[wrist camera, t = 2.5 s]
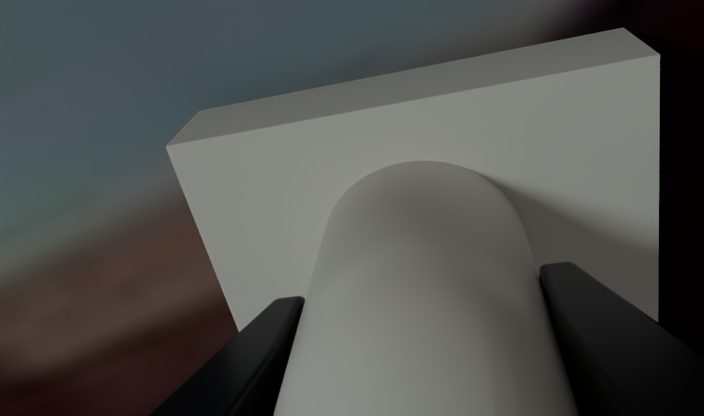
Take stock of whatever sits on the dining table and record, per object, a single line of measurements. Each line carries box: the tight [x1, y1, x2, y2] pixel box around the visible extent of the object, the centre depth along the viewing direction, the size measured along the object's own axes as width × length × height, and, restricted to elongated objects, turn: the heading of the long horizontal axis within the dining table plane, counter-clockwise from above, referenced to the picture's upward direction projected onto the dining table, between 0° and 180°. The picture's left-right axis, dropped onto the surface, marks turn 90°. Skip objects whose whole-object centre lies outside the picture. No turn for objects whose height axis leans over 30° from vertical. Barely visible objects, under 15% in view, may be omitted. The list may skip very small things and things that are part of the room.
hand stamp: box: [165, 28, 660, 416], centre depth 7 cm, size 7×5×9 cm
